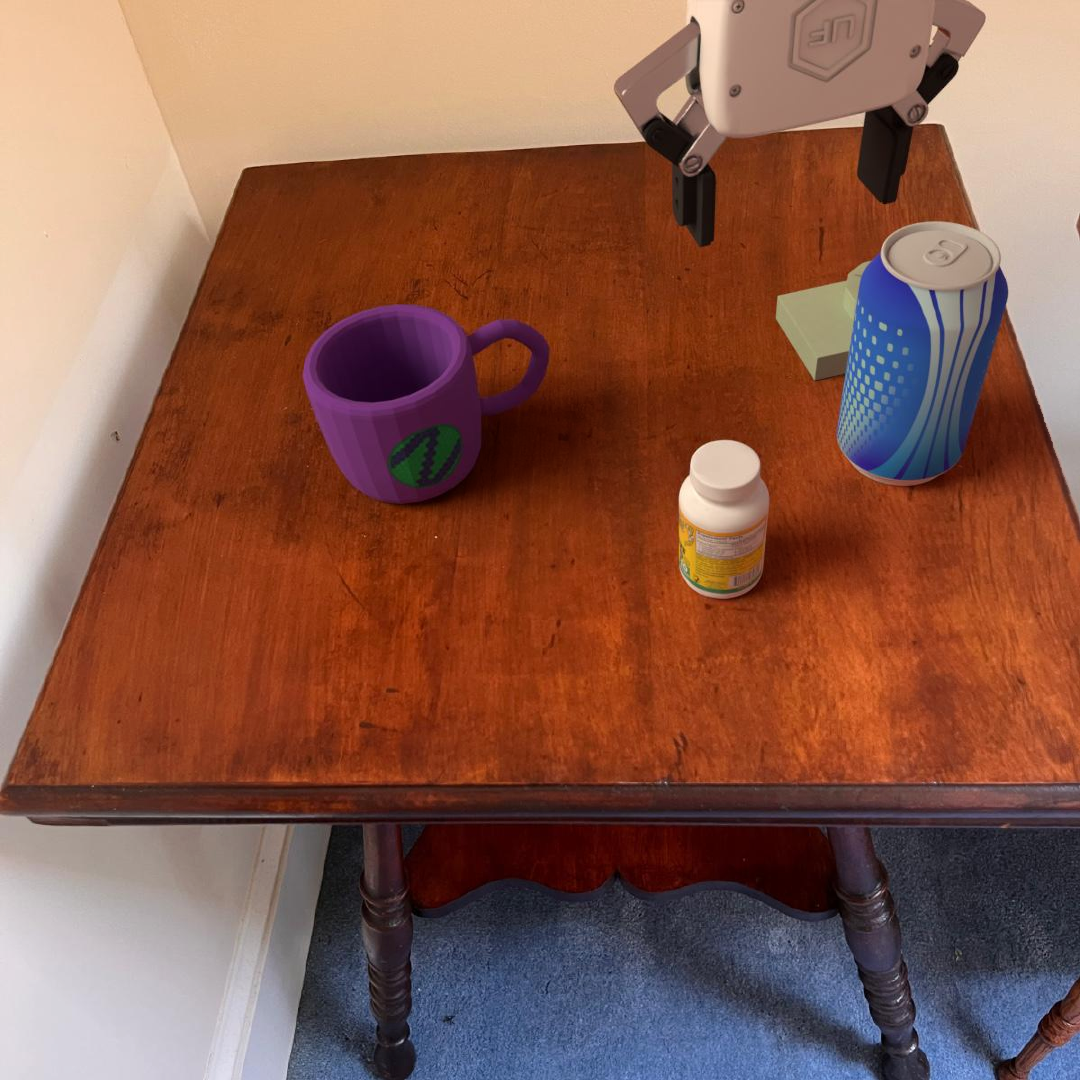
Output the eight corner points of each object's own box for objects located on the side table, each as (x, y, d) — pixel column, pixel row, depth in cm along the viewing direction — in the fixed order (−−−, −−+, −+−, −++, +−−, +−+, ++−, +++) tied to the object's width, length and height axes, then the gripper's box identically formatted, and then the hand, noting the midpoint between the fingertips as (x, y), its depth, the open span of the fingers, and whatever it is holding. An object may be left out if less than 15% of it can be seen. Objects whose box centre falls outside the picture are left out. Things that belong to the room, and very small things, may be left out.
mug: (367, 540, 71) (330, 435, 64) (318, 442, 78) (279, 337, 71) (589, 447, 75) (580, 338, 68) (524, 362, 82) (508, 254, 75)
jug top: (905, 289, 83) (914, 246, 80) (953, 349, 78) (964, 305, 75) (775, 318, 83) (778, 276, 80) (814, 381, 77) (819, 338, 74)
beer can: (981, 483, 69) (1044, 282, 57) (857, 504, 69) (895, 307, 57) (932, 401, 75) (981, 202, 63) (818, 420, 75) (845, 225, 62)
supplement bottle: (754, 608, 64) (763, 504, 57) (670, 593, 66) (668, 489, 59) (769, 544, 68) (779, 438, 60) (688, 530, 69) (689, 425, 62)
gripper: (636, -109, 37) (647, 290, 50) (1085, -200, 38) (982, 212, 51) (580, -167, 42) (603, 210, 55) (980, -246, 43) (910, 140, 56)
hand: (786, 211), depth 53 cm, fingers open, 9 cm apart
